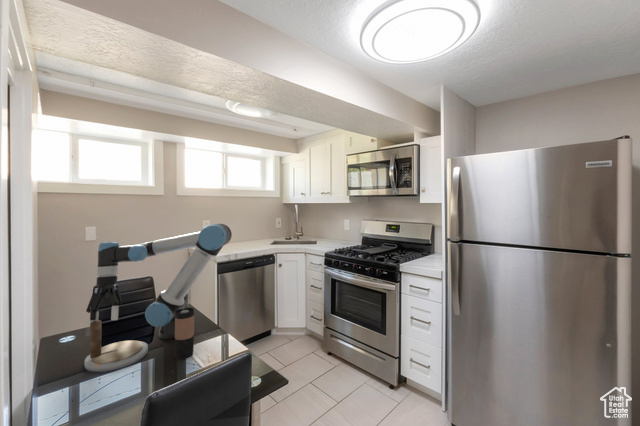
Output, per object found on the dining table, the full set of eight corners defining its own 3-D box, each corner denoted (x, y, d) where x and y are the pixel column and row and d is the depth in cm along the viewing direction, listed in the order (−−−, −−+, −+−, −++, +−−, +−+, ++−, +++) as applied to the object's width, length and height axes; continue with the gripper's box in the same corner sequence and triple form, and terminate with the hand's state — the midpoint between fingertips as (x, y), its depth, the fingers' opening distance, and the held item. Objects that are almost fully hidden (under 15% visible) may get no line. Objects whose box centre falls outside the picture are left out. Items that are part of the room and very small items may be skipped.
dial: (139, 338, 131) (139, 307, 131) (145, 353, 117) (145, 318, 117) (89, 351, 119) (90, 316, 119) (90, 369, 105) (90, 330, 105)
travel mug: (186, 361, 115) (186, 314, 116) (170, 359, 117) (170, 312, 117) (197, 352, 123) (198, 308, 123) (182, 350, 124) (183, 306, 125)
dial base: (156, 343, 131) (156, 339, 131) (132, 369, 109) (132, 364, 109) (105, 347, 127) (105, 342, 127) (70, 374, 106) (70, 368, 106)
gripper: (115, 274, 138) (113, 317, 135) (77, 278, 113) (73, 332, 110) (131, 273, 138) (129, 316, 135) (96, 277, 114) (93, 330, 111)
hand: (104, 323), depth 123 cm, fingers open, 13 cm apart
